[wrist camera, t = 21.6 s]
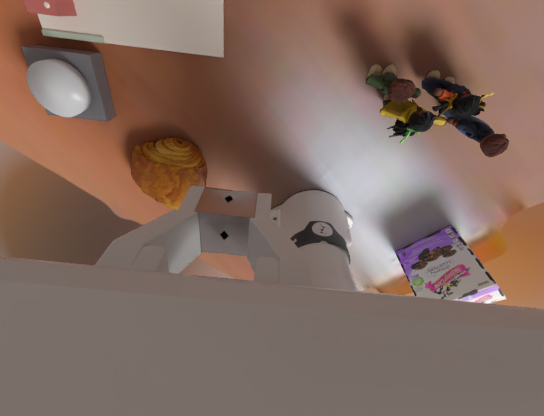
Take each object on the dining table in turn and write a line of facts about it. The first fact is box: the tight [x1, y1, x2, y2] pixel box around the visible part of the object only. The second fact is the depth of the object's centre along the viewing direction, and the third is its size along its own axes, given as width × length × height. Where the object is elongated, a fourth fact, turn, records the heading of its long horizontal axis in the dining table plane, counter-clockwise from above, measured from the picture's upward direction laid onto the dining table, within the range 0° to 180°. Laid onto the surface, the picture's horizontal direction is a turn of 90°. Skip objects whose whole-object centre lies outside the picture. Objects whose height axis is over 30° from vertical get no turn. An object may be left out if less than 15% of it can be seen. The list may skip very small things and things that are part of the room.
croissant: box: [131, 137, 207, 210], centre depth 52 cm, size 14×16×8 cm
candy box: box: [395, 225, 506, 304], centre depth 57 cm, size 14×6×16 cm, turn 132°
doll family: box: [366, 65, 509, 157], centre depth 39 cm, size 23×9×13 cm, turn 86°
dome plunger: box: [27, 59, 92, 117], centre depth 42 cm, size 8×8×4 cm
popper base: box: [21, 45, 116, 121], centre depth 44 cm, size 10×10×3 cm
